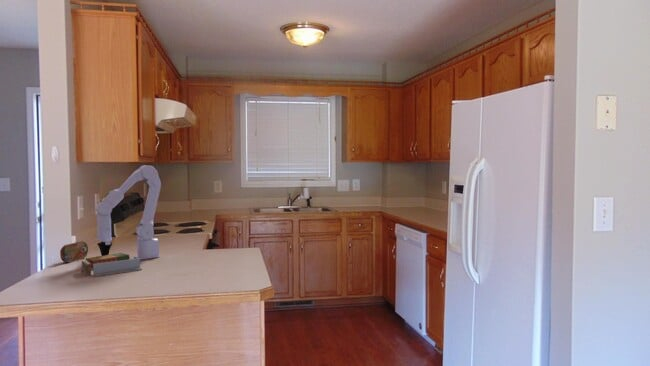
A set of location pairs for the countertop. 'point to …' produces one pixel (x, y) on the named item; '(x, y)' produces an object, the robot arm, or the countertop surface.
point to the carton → (107, 258)
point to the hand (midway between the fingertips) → (105, 258)
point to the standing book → (86, 267)
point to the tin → (74, 251)
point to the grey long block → (116, 267)
